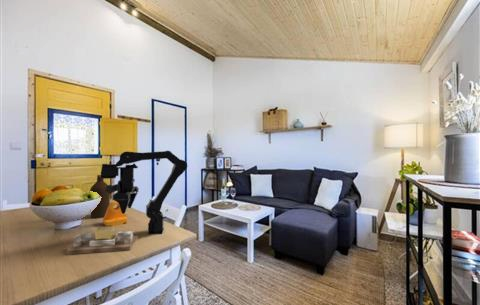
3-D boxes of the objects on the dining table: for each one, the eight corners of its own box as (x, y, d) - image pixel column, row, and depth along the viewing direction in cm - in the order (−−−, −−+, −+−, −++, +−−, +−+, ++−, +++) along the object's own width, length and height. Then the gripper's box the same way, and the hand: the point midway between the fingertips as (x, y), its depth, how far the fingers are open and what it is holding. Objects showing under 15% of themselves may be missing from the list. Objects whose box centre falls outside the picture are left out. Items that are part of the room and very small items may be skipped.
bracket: (105, 227, 114) (106, 204, 114) (103, 224, 120) (103, 202, 120) (128, 223, 122) (128, 201, 121) (124, 219, 127) (124, 199, 127)
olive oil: (113, 215, 134) (113, 175, 134) (93, 219, 126) (93, 176, 126) (106, 212, 141) (106, 173, 141) (87, 216, 133) (87, 175, 132)
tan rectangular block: (95, 244, 91) (95, 230, 91) (99, 240, 95) (99, 226, 95) (111, 243, 92) (111, 229, 92) (114, 239, 96) (114, 226, 96)
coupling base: (137, 238, 102) (137, 226, 101) (130, 250, 90) (130, 236, 90) (82, 241, 97) (82, 229, 97) (66, 254, 85) (66, 240, 85)
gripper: (115, 175, 111) (115, 206, 112) (99, 181, 93) (99, 217, 93) (138, 175, 114) (138, 205, 114) (127, 180, 95) (127, 216, 96)
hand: (126, 210), depth 104 cm, fingers open, 9 cm apart
